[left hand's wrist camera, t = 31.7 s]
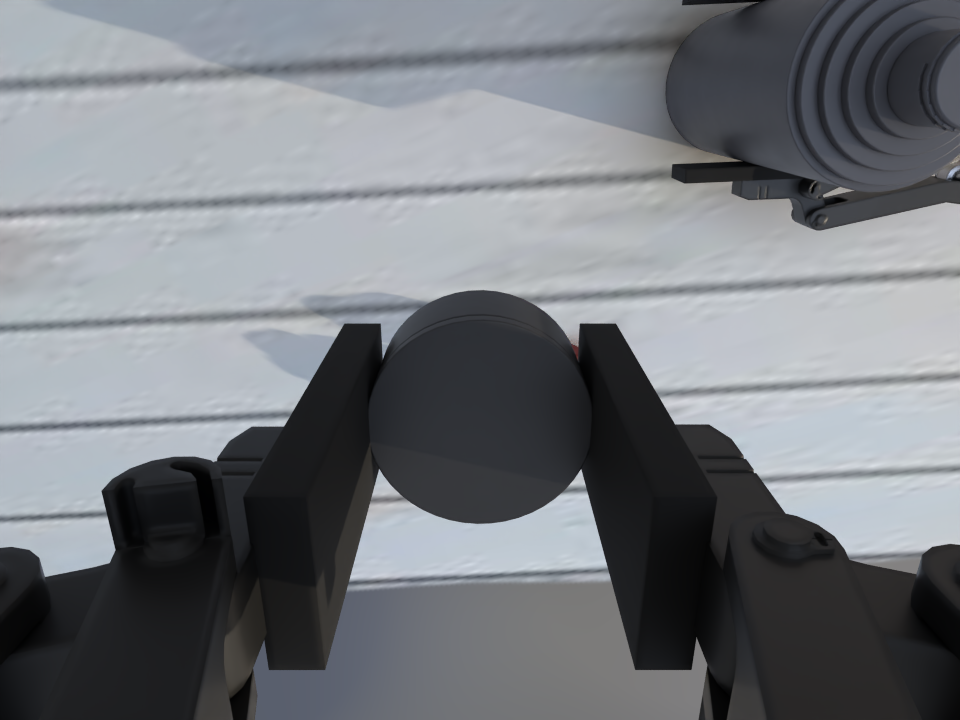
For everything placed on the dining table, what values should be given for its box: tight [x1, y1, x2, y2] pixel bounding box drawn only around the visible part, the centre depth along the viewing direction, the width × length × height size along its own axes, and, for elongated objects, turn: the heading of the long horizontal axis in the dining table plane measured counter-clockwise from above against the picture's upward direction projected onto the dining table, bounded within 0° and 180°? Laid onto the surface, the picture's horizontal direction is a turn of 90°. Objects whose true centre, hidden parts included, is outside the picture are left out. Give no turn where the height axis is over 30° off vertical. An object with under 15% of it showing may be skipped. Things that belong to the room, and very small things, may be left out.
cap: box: [368, 290, 592, 524], centre depth 14 cm, size 4×4×2 cm
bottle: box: [666, 0, 960, 192], centre depth 32 cm, size 8×8×23 cm
